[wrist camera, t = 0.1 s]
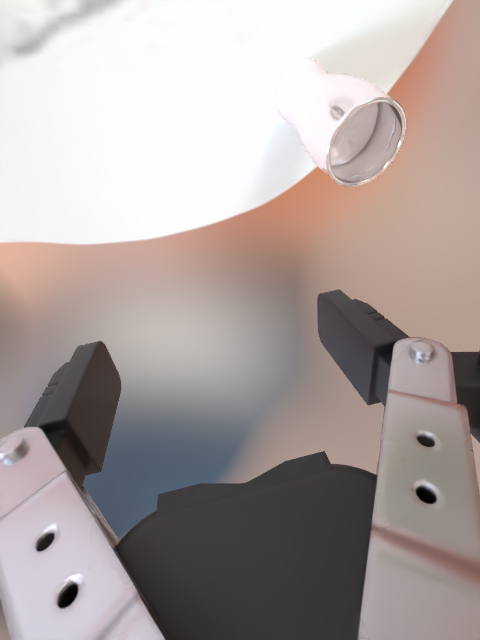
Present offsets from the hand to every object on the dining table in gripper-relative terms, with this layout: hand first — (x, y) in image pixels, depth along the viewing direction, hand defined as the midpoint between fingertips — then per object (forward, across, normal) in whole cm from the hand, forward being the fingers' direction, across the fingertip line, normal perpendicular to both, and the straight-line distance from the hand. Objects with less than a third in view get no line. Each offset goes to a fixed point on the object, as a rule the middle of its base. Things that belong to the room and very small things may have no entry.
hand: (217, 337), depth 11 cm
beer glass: (+30, -15, -10) cm, 35 cm away
